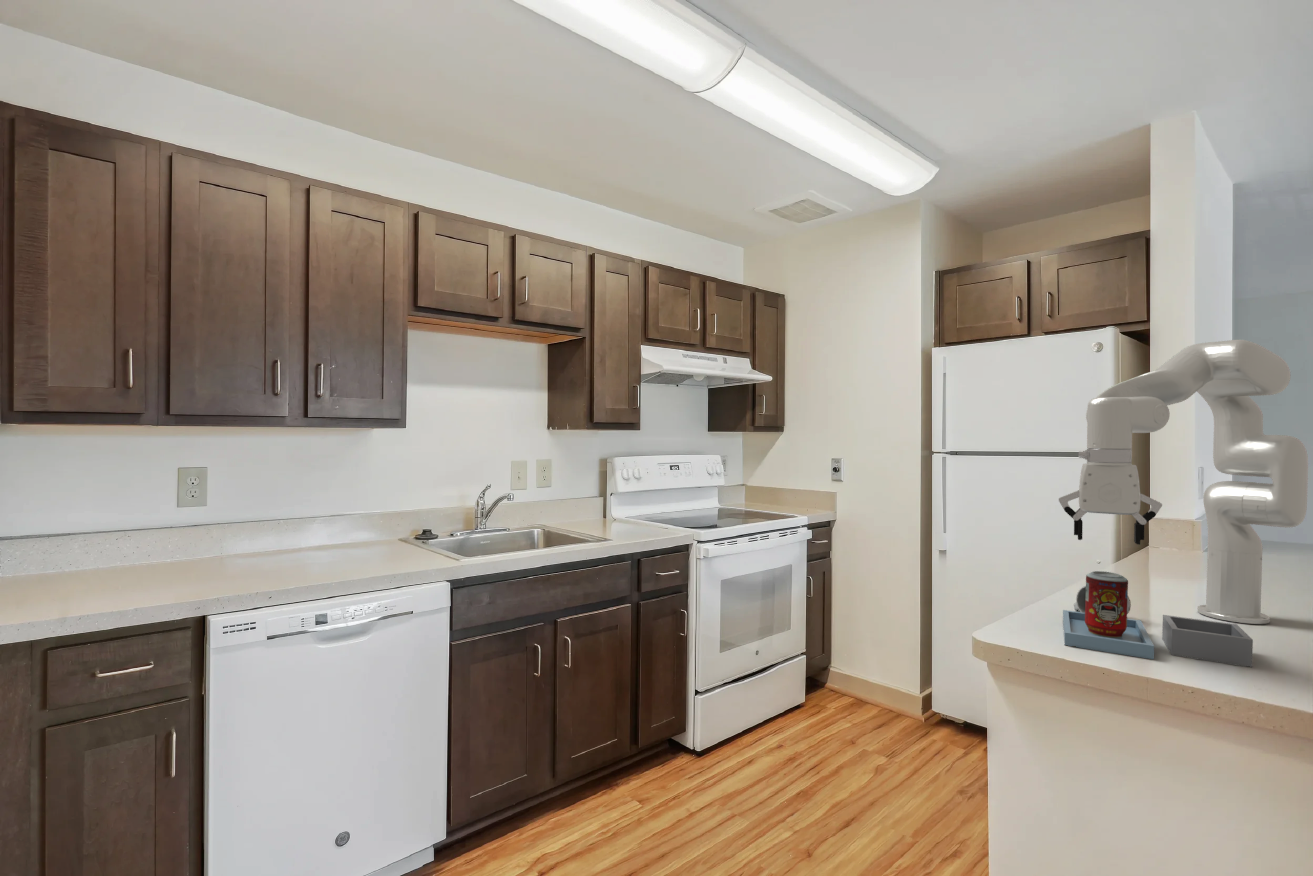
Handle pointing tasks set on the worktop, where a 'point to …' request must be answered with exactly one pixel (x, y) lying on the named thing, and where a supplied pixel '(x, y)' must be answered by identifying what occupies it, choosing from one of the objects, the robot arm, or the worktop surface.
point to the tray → (1130, 643)
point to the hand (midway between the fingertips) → (1108, 541)
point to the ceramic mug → (1081, 601)
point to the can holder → (1207, 640)
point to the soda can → (1106, 604)
